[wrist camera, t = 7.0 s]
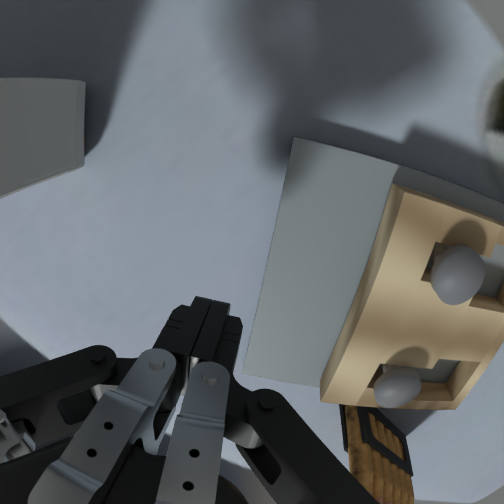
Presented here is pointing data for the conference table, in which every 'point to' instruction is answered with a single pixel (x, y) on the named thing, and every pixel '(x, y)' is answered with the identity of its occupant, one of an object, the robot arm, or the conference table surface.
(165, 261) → the conference table surface
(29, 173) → the rounded white slab
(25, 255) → the conference table surface
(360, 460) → the ammunition clip
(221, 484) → the robot arm
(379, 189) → the board
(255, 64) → the conference table surface
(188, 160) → the conference table surface
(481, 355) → the beech panel
